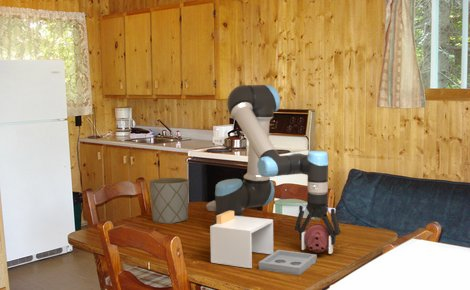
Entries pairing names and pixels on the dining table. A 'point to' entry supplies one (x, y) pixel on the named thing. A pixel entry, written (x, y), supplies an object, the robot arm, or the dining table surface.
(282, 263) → the grey shallow tray
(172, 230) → the dining table surface
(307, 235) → the mechanical component
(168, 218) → the planter
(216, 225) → the white open cubby
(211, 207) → the rock
